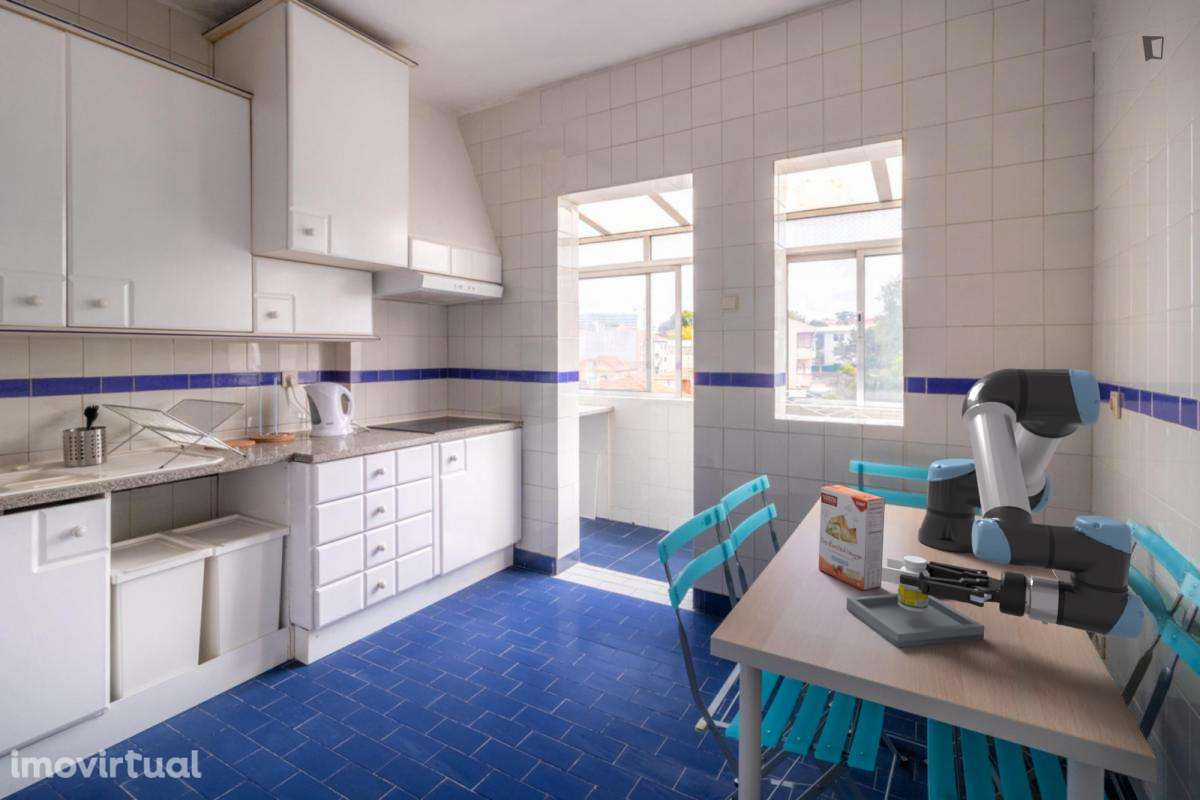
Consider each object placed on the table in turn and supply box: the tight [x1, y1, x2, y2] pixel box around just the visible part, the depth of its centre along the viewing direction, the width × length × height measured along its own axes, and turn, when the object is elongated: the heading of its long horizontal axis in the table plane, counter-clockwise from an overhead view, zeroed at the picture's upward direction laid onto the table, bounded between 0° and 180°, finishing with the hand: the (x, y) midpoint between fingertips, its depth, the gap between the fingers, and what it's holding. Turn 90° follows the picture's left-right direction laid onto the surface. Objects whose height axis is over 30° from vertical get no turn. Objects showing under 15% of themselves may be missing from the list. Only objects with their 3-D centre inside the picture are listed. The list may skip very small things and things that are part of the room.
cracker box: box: [818, 484, 886, 591], centre depth 140 cm, size 14×6×21 cm, turn 23°
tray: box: [846, 593, 986, 648], centre depth 119 cm, size 18×16×2 cm
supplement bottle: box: [897, 555, 930, 612], centre depth 118 cm, size 5×5×10 cm
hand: (885, 568), depth 121 cm, fingers closed on supplement bottle, 5 cm apart
